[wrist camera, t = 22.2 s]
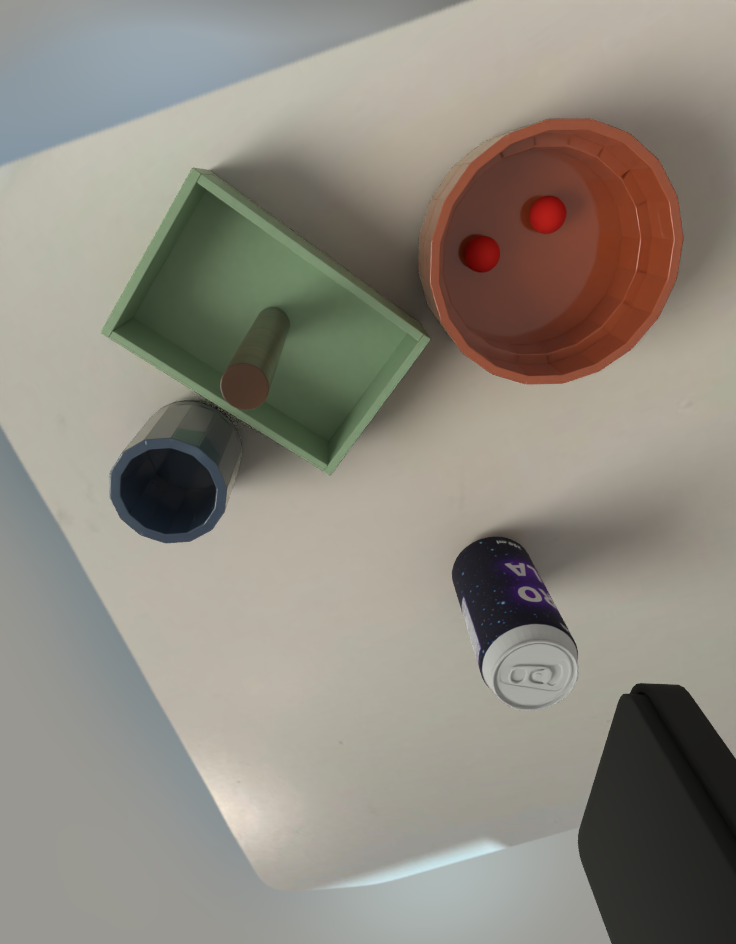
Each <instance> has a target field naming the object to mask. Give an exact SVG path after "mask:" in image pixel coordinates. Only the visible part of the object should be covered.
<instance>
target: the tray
mask: <svg viewBox="0 0 736 944" xmlns="http://www.w3.org/2000/svg"><path fill="white" fill-rule="evenodd" d="M268 307H276V308H279V309H281V310H283V311H284V312H285V313H286V314H287V316H288V318H289V322H290V327H289V331H288V334H287V337H286V340H285V343H284V347H283V350H282V353H281V356H280V359H279V362H278V365H277V368H276V372H275V375H274V378H273V381H272V384H271V387H270V390H269V394H268V396H267V398H266V400H265V401H264V403H263V404H261V405H260V406H259V407H257V408H255V409H251V410H241V409H237V408H235V407H233V406H231V405H230V404H229V403H228V402H227V401H226V400H225V399H224V397H223V395H222V393H221V389H220V381H221V377H222V375H223V373H224V371H225V370H226V368H227V366H228V365H229V363H230V361H231V360H232V358H233V356H234V355H235V353H236V351H237V350H238V348H239V346H240V345H241V343H242V341H243V340H244V338H245V336H246V335H247V333H248V331H249V330H250V328H251V326H252V325H253V323H254V321H255V320H256V318H257V316H258V315H259V313H260V312H261V311H262V310H264V309H265V308H268ZM101 333H102V334H103V335H105V336H106V337H108V338H110V339H111V340H113V341H114V342H116V343H118V344H119V345H121V346H122V347H124V348H126V349H127V350H129V351H131V352H132V353H134V354H135V355H137V356H139V357H140V358H142V359H143V360H145V361H147V362H148V363H150V364H151V365H153V366H155V367H156V368H158V369H159V370H161V371H163V372H164V373H166V374H168V375H169V376H171V377H172V378H174V379H176V380H177V381H179V382H180V383H182V384H184V385H185V386H187V387H188V388H190V389H192V390H193V391H195V392H197V393H198V394H200V395H201V396H203V397H205V398H206V399H208V400H209V401H211V402H213V403H214V404H216V405H217V406H219V407H221V408H222V409H224V410H225V411H227V412H229V413H230V414H232V415H234V416H235V417H237V418H238V419H240V420H242V421H243V422H245V423H246V424H248V425H250V426H251V427H253V428H254V429H256V430H258V431H259V432H261V433H262V434H264V435H266V436H267V437H269V438H271V439H272V440H274V441H275V442H277V443H279V444H280V445H282V446H283V447H285V448H287V449H288V450H290V451H291V452H293V453H295V454H296V455H298V456H299V457H301V458H303V459H304V460H306V461H308V462H309V463H311V464H312V465H314V466H316V467H317V468H319V469H320V470H322V471H324V472H325V473H327V474H328V475H331V474H332V473H333V471H334V470H335V469H336V467H337V466H338V465H339V463H340V462H341V461H342V459H343V458H344V457H345V455H346V454H347V452H348V451H349V450H350V448H351V447H352V446H353V444H354V443H355V442H356V440H357V439H358V438H359V436H360V435H361V434H362V432H363V431H364V429H365V428H366V427H367V425H368V424H369V423H370V421H371V420H372V419H373V417H374V416H375V415H376V413H377V412H378V411H379V409H380V408H381V406H382V405H383V404H384V402H385V401H386V400H387V398H388V397H389V396H390V394H391V393H392V392H393V390H394V389H395V387H396V386H397V385H398V383H399V382H400V381H401V379H402V378H403V377H404V375H405V374H406V373H407V371H408V370H409V369H410V367H411V366H412V364H413V363H414V362H415V360H416V359H417V358H418V356H419V355H420V354H421V352H422V351H423V350H424V348H425V347H426V346H427V344H428V343H429V341H430V340H431V339H430V337H429V336H428V334H427V332H426V331H425V329H424V328H423V326H422V325H421V324H420V323H419V322H418V321H416V320H415V319H413V318H412V317H411V316H409V315H408V314H407V313H405V312H404V311H402V310H401V309H400V308H398V307H397V306H396V305H394V304H393V303H391V302H390V301H389V300H387V299H386V298H384V297H383V296H382V295H380V294H379V293H378V292H376V291H375V290H373V289H372V288H371V287H369V286H368V285H367V284H365V283H364V282H362V281H361V280H360V279H358V278H357V277H356V276H354V275H353V274H351V273H350V272H349V271H347V270H346V269H345V268H343V267H342V266H340V265H339V264H338V263H336V262H335V261H333V260H332V259H331V258H329V257H328V256H327V255H325V254H324V253H322V252H321V251H320V250H318V249H317V248H316V247H314V246H313V245H311V244H310V243H309V242H307V241H306V240H305V239H303V238H302V237H300V236H299V235H298V234H296V233H295V232H294V231H292V230H291V229H289V228H288V227H287V226H285V225H284V224H282V223H281V222H280V221H278V220H277V219H276V218H274V217H273V216H271V215H270V214H269V213H267V212H266V211H265V210H263V209H262V208H260V207H259V206H258V205H256V204H255V203H254V202H252V201H251V200H249V199H248V198H247V197H245V196H244V195H243V194H241V193H240V192H238V191H237V190H236V189H234V188H233V187H231V186H230V185H229V184H227V183H226V182H225V181H223V180H222V179H220V178H219V177H218V176H216V175H215V174H214V173H212V172H211V171H209V170H205V169H198V168H192V170H191V171H190V173H189V175H188V177H187V178H186V180H185V182H184V184H183V186H182V187H181V189H180V191H179V193H178V195H177V196H176V198H175V200H174V202H173V204H172V205H171V207H170V209H169V211H168V213H167V214H166V216H165V218H164V220H163V222H162V223H161V225H160V227H159V229H158V230H157V232H156V234H155V236H154V238H153V239H152V241H151V243H150V245H149V247H148V248H147V250H146V252H145V254H144V256H143V257H142V259H141V261H140V263H139V265H138V266H137V268H136V270H135V272H134V273H133V275H132V277H131V279H130V281H129V282H128V284H127V286H126V288H125V290H124V291H123V293H122V295H121V297H120V299H119V300H118V302H117V304H116V306H115V308H114V309H113V311H112V313H111V315H110V317H109V318H108V320H107V322H106V324H105V325H104V327H103V329H102V331H101Z"/></svg>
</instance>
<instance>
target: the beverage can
mask: <svg viewBox="0 0 736 944" xmlns="http://www.w3.org/2000/svg"><path fill="white" fill-rule="evenodd" d="M452 579H453V583H454V587H455V590H456V593H457V597H458V600H459V603H460V606H461V610H462V613H463V616H464V620H465V623H466V626H467V629H468V633H469V636H470V639H471V642H472V646H473V649H474V652H475V656H476V659H477V662H478V665H479V669H480V672H481V675H482V678H483V680H484V682H485V683H486V685H487V686H488V687H489V688H490V689H491V690H492V691H493V692H494V693H495V694H496V696H497V697H498V698H499V699H500V700H501V701H502V702H503V703H504V704H506V705H507V706H509V707H512V708H514V709H518V710H524V711H534V710H541V709H545V708H548V707H550V706H553V705H555V704H557V703H558V702H560V701H561V700H563V699H564V698H565V697H566V696H567V695H568V694H569V693H570V692H571V691H572V689H573V688H574V686H575V684H576V681H577V678H578V663H577V660H578V650H577V646H576V643H575V641H574V639H573V638H572V636H571V634H570V632H569V630H568V628H567V626H566V624H565V623H564V621H563V619H562V617H561V615H560V613H559V611H558V609H557V608H556V606H555V604H554V602H553V600H552V598H551V596H550V594H549V593H548V591H547V589H546V587H545V585H544V583H543V581H542V579H541V578H540V576H539V574H538V572H537V570H536V568H535V566H534V564H533V563H532V561H531V559H530V557H529V555H528V553H527V552H526V550H525V549H524V548H523V547H522V546H521V545H520V544H518V543H517V542H515V541H513V540H511V539H508V538H504V537H488V538H483V539H480V540H478V541H475V542H473V543H472V544H470V545H469V546H467V547H466V548H465V549H464V550H463V551H462V552H461V553H460V554H459V556H458V557H457V559H456V561H455V563H454V566H453V570H452Z"/></svg>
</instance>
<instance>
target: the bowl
mask: <svg viewBox="0 0 736 944" xmlns="http://www.w3.org/2000/svg"><path fill="white" fill-rule="evenodd" d="M544 196H555V197H558V198H559V199H560V200H561V201H562V202H563V203H564V205H565V207H566V218H565V221H564V223H563V225H562V226H561V227H560V228H559V229H558V230H557V231H555V232H553V233H550V234H543V233H539V232H537V231H536V230H535V229H534V228H533V227H532V225H531V223H530V219H529V214H530V210H531V207H532V206H533V204H534V203H535V202H536V201H537V200H538V199H539V198H541V197H544ZM419 235H420V236H419V258H418V272H419V277H420V280H421V284H422V287H423V291H424V294H425V297H426V301H427V304H428V306H429V308H430V310H431V311H432V313H433V314H434V316H435V317H436V319H437V320H438V321H439V323H440V324H441V326H442V327H443V329H444V330H445V331H446V333H447V334H448V335H449V337H450V338H451V339H452V340H453V342H454V343H455V344H456V346H457V347H458V348H459V349H460V351H461V352H462V353H463V354H464V355H466V356H467V357H469V358H470V359H471V360H473V361H474V362H476V363H477V364H478V365H480V366H481V367H482V368H484V369H485V370H487V371H488V372H489V373H492V374H493V375H496V376H500V377H503V378H506V379H509V380H513V381H516V382H519V383H523V384H562V383H566V382H569V381H572V380H575V379H578V378H581V377H584V376H587V375H590V374H593V373H596V372H598V371H600V370H602V369H603V368H605V367H606V366H608V365H609V364H611V363H612V362H614V361H615V360H617V359H618V358H619V357H621V356H622V355H624V354H625V353H627V352H628V351H630V350H631V348H633V347H634V346H635V345H636V344H637V342H638V341H639V340H640V339H641V338H642V337H643V335H644V334H645V333H646V332H647V331H648V330H649V328H650V327H651V326H652V325H653V324H654V323H655V321H656V320H657V319H658V317H659V316H660V314H661V312H662V309H663V307H664V305H665V303H666V301H667V299H668V297H669V295H670V292H671V290H672V288H673V286H674V284H675V282H676V279H677V274H678V268H679V262H680V256H681V250H682V244H683V232H682V224H681V217H680V209H679V202H678V197H677V194H676V192H675V190H674V188H673V186H672V184H671V182H670V180H669V178H668V176H667V174H666V173H665V171H664V169H663V167H662V165H661V163H660V161H659V160H658V159H657V158H656V157H655V156H654V155H653V154H652V153H651V152H650V151H649V150H648V149H646V148H645V147H644V146H643V145H642V144H641V143H640V142H639V141H638V140H637V139H636V138H634V137H633V136H632V135H631V134H629V133H628V132H626V131H623V130H620V129H618V128H615V127H612V126H610V125H607V124H605V123H602V122H599V121H597V120H594V119H590V118H573V119H546V120H543V121H540V122H537V123H534V124H531V125H528V126H525V127H522V128H519V129H516V130H513V131H511V132H508V133H505V134H503V135H500V136H497V137H494V138H492V139H489V140H486V141H485V142H483V143H481V144H480V145H479V146H478V147H476V148H475V149H474V150H473V151H471V152H470V153H469V154H468V155H466V156H465V157H464V158H463V159H461V160H460V161H459V162H457V163H456V164H455V165H454V167H452V169H451V170H450V171H449V173H448V174H447V176H446V177H445V179H444V180H443V182H442V183H441V185H440V186H439V188H438V189H437V190H436V192H435V193H434V195H433V196H432V199H431V200H430V203H429V206H428V209H427V212H426V215H425V218H424V221H423V225H422V228H421V231H420V234H419ZM478 236H488V237H491V238H492V239H494V240H495V241H496V242H497V244H498V246H499V249H500V258H499V261H498V263H497V264H496V266H495V267H494V268H493V269H491V270H490V271H488V272H484V273H479V272H475V271H473V270H472V269H470V268H469V267H468V265H467V264H466V261H465V256H464V254H465V249H466V247H467V245H468V243H469V242H470V241H471V240H472V239H474V238H476V237H478Z"/></svg>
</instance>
